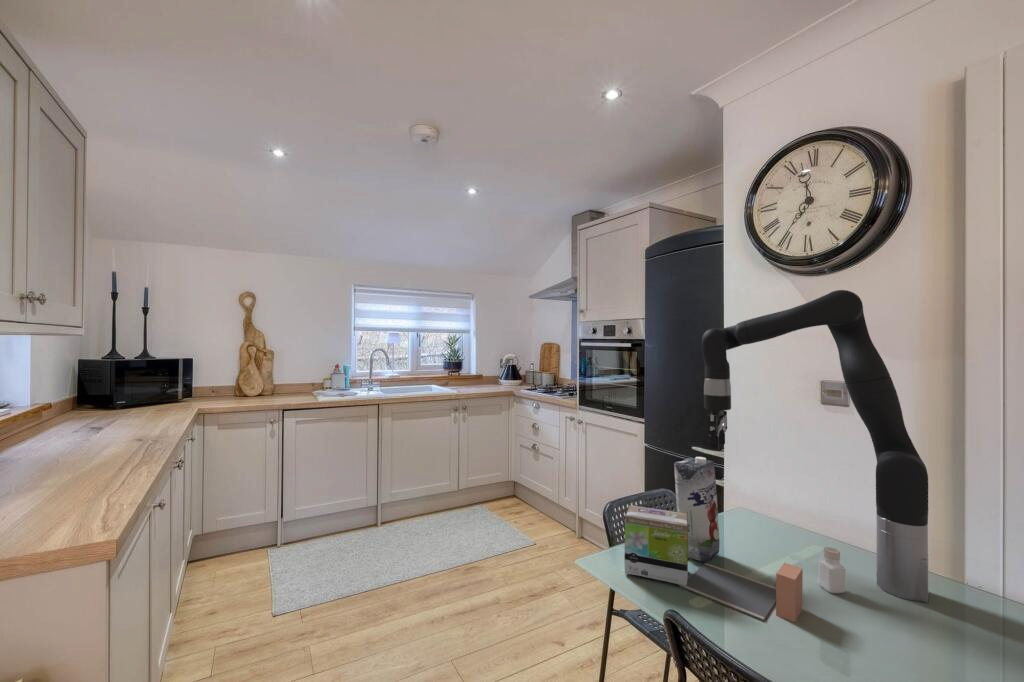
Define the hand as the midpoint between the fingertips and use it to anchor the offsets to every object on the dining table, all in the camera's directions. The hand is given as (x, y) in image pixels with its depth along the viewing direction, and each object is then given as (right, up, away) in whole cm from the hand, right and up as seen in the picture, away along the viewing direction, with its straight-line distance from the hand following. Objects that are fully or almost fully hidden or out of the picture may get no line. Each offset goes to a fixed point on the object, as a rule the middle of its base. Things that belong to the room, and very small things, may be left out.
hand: (717, 446), depth 131 cm
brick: (-2, -27, -37) cm, 46 cm away
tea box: (-26, -27, -21) cm, 43 cm away
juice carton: (-11, -28, -11) cm, 32 cm away
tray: (-10, -27, -28) cm, 41 cm away
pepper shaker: (+14, -28, -28) cm, 42 cm away
